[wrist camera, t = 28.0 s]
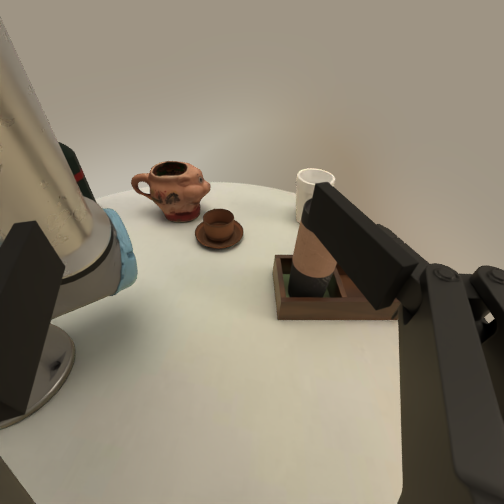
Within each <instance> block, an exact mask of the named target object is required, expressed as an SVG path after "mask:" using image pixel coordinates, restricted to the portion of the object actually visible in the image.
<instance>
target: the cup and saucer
mask: <svg viewBox="0 0 504 504" xmlns="http://www.w3.org/2000/svg"><path fill="white" fill-rule="evenodd" d="M195 236H196V238H197V240H198V241H199V242H200V243H201V244H203V245H205V246H207V247H211V248H226V247H230V246H232V245H234V244H236V243H237V242H239V241H240V239H241V238H242V236H243V228H242V226H241V225H240V224H239V223H238V222H237V221H235V220H234V215H233V214H232V213H231V212H230V211H228V210H225V209H213V210H210V211H208V212H206V213H205V214H204V216H203V222H202V223H200V224H199V225H198V226H197V228H196V230H195Z"/></svg>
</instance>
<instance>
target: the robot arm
mask: <svg viewBox="0 0 504 504" xmlns="http://www.w3.org/2000/svg"><path fill="white" fill-rule="evenodd" d="M307 226H308V227H309V228H310V229H311V231H312V232H313V233H314V234H315V236H316V237H317V238H318V239H319V241H320V242H321V243H322V244H323V246H324V247H325V248H326V249H327V251H328V252H329V253H330V254H331V255H332V257H333V258H334V259H335V260H336V262H337V263H338V264H339V265H340V267H341V268H342V269H343V270H344V272H345V273H346V274H347V275H348V277H349V278H350V279H351V280H352V282H353V283H354V284H355V285H356V287H357V288H358V289H359V290H360V292H361V293H362V294H363V295H364V296H365V298H366V299H367V300H368V301H369V303H370V304H371V305H372V306H373V308H374V309H375V310H376V311H377V310H380V309H384V308H387V307H390V306H391V305H392V303H393V302H394V300H395V298H397V299H398V300H399V301H400V305H399V306H398V308H397V309H396V311H395V312H394V313H393V315H392V318H391V319H392V320H394V319H395V317H396V316H397V315H398V325H399V362H400V398H401V435H402V471H403V488H402V494H401V496H400V498H399V501H398V503H397V504H504V270H502V269H499V268H496V267H492V266H481V267H479V268H478V269H477V270H476V271H475V272H474V273H473V274H458V273H457V272H456V271H455V270H453V269H451V268H450V267H448V266H445V265H442V264H436V263H434V264H429V263H428V262H427V261H426V260H424V259H423V258H422V257H421V256H420V255H419V254H417V253H416V252H415V251H414V250H413V249H412V248H410V247H409V246H408V245H407V244H406V243H404V242H403V241H402V240H401V239H400V238H397V236H396V235H395V234H394V233H393V232H392V231H391V230H389V229H388V228H386V227H384V226H382V225H380V224H375V223H374V222H373V221H372V220H370V219H369V218H368V217H367V216H366V215H365V214H364V213H363V212H361V211H360V210H359V209H358V208H357V207H356V206H355V205H353V204H352V203H351V202H350V201H349V200H348V199H347V198H345V197H344V196H343V195H342V194H341V193H340V192H339V191H338V190H336V189H335V188H334V187H333V186H332V185H331V184H330V183H329V182H321V183H315V187H314V192H313V196H312V201H311V205H310V210H309V214H308V219H307ZM137 273H138V271H137V263H136V258H135V255H134V253H133V248H132V244H131V241H130V238H129V235H128V233H127V230H126V228H125V226H124V224H123V222H122V220H121V218H120V217H119V215H118V214H117V212H116V211H114V210H112V209H108V208H107V209H103V208H101V207H100V206H99V205H98V204H97V203H96V202H94V201H93V200H91V199H89V198H87V197H84V196H83V195H82V193H81V191H80V189H79V186H78V184H77V182H76V180H75V178H74V176H73V173H72V171H71V169H70V167H69V165H68V163H67V160H66V158H65V156H64V154H63V152H62V150H61V148H60V145H59V143H58V141H57V139H56V137H55V135H54V133H53V130H52V128H51V126H50V124H49V122H48V119H47V117H46V115H45V113H44V111H43V109H42V107H41V104H40V102H39V100H38V98H37V96H36V94H35V91H34V89H33V87H32V85H31V83H30V80H29V78H28V76H27V74H26V72H25V70H24V68H23V65H22V63H21V61H20V59H19V57H18V54H17V52H16V50H15V48H14V46H13V43H12V41H11V39H10V37H9V35H8V33H7V30H6V28H5V26H4V24H3V22H2V20H1V17H0V429H2V428H5V427H8V426H10V425H13V424H15V423H17V422H19V421H21V420H23V419H24V418H26V417H28V416H29V415H31V414H32V413H34V412H35V411H37V410H38V409H39V408H41V407H42V406H43V405H44V404H45V403H46V402H48V401H49V400H50V399H51V398H52V397H53V396H54V395H55V393H56V392H57V391H58V390H59V389H60V388H61V386H62V385H63V383H64V382H65V380H66V379H67V377H68V375H69V373H70V371H71V369H72V367H73V364H74V360H75V346H74V343H73V341H72V339H71V338H70V337H69V335H68V334H67V333H66V332H65V331H64V330H62V329H61V328H59V327H58V326H56V325H53V324H51V323H50V322H51V320H52V319H54V318H57V317H59V316H61V315H64V314H66V313H69V312H71V311H74V310H76V309H78V308H81V307H83V306H86V305H88V304H90V303H93V302H95V301H98V300H100V299H102V298H105V297H107V296H113V295H116V294H117V293H118V292H119V291H121V290H123V289H125V288H127V287H129V286H131V285H132V284H133V283H134V282H135V281H136V279H137ZM490 312H491V314H492V315H493V317H494V318H495V319H494V320H493V321H491V322H490V323H488V322H487V321H486V320H485V318H484V317H485V316H486V315H487V314H488V313H490ZM0 504H36V503H35V502H34V501H33V499H32V498H31V497H30V495H29V494H28V493H27V491H26V490H25V489H24V487H23V486H22V485H21V483H20V482H19V481H18V479H17V478H16V477H15V475H14V474H13V473H12V471H11V470H10V469H9V467H8V466H7V465H6V463H5V462H4V461H3V459H2V458H1V457H0Z"/></svg>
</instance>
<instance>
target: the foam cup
mask: <svg viewBox="0 0 504 504" xmlns="http://www.w3.org/2000/svg"><path fill="white" fill-rule="evenodd" d="M321 182H329V183H330V184H331V185H332V186H333V187H334V183H335V177H334V175H332V174H331V173H330V172H327V171H324V170H320V169H313V168H312V169H304V170H301V171H299V172H298V174H297V179H296V186H297V192H296V221H297V222H298V223H300V221H301V216H302V211H303V207H304V204H305V202H306V201H307V200H309V199H311V198H312V196H313V192H314V187H315V183H321Z"/></svg>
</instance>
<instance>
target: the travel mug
mask: <svg viewBox="0 0 504 504" xmlns="http://www.w3.org/2000/svg"><path fill="white" fill-rule="evenodd" d="M311 201H312V198H311V199H309V200H307V201H306V202H305V204H304V207H303V211H302V216H301V221H300V226H299V230H298V235H297V240H296V244H295V249H294V254H293V259H292V265H291V271H290V278H289V284H288V294H289V296H290V297H318V298H323V296H324V294H325V291H326V289H327V286H328V284H329V282H330V279H331V277H332V274H333V272H334V269H335V267H336V264H337V262H336V260H335V259H334V258H333V257H332V255H331V254H330V253H329V252H328V251H327V249H326V248H325V247H324V246H323V244H322V243H321V242H320V241H319V239H318V238H317V237H316V236H315V234H314V233H313V232H312V231H311V229H310V228H309V227H308V226H307V219H308V214H309V210H310V205H311Z"/></svg>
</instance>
